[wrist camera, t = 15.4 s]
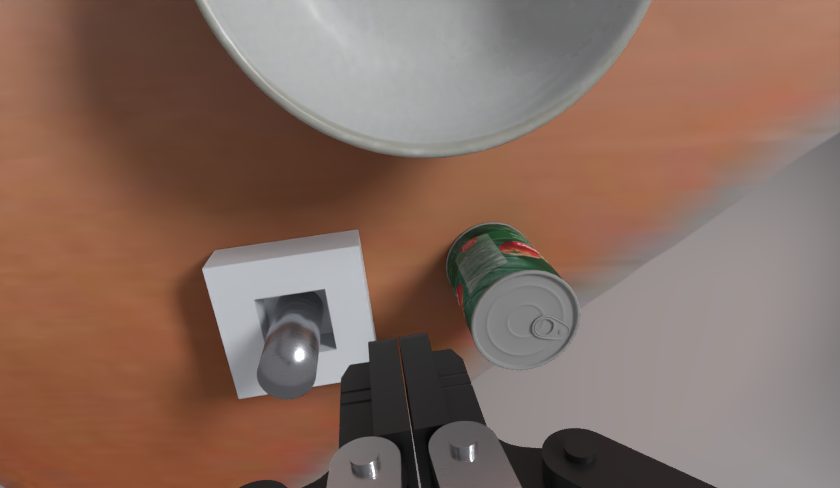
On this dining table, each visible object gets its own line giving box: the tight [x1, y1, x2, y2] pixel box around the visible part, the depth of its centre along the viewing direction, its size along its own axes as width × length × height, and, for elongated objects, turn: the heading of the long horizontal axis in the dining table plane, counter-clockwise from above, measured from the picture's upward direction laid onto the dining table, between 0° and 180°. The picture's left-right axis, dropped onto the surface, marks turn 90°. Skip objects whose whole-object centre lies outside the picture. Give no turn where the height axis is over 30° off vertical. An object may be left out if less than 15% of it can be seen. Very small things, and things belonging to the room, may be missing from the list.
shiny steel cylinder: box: [257, 291, 324, 399], centre depth 42 cm, size 4×4×10 cm
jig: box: [202, 229, 377, 399], centre depth 46 cm, size 12×13×4 cm
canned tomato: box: [446, 222, 580, 370], centre depth 43 cm, size 8×8×11 cm
